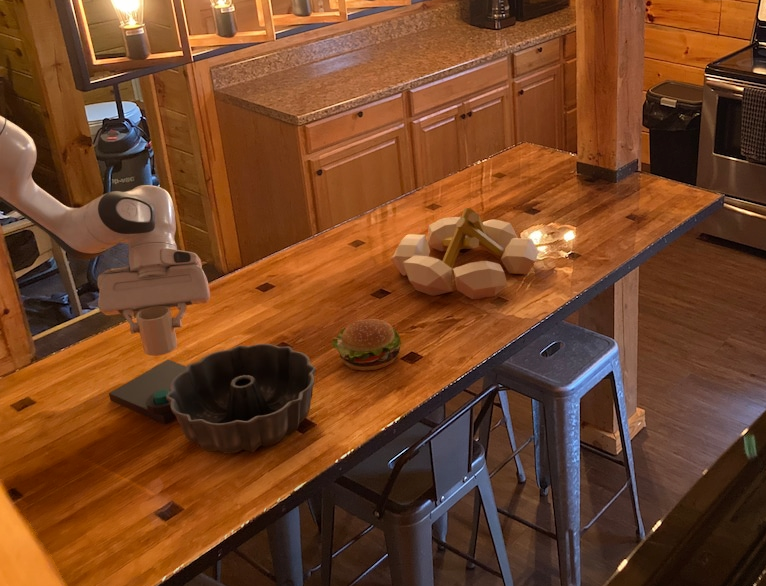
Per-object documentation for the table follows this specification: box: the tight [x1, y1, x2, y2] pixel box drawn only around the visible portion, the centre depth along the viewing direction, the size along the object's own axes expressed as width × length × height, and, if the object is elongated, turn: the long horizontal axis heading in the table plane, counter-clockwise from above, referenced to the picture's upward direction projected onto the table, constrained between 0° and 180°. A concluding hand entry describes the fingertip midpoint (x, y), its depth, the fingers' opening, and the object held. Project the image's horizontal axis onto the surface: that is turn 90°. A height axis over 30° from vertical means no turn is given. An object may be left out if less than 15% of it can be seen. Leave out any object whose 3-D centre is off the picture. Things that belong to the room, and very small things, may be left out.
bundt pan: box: [166, 343, 317, 455], centre depth 180 cm, size 26×26×10 cm
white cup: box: [135, 305, 178, 357], centre depth 188 cm, size 6×6×8 cm
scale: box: [108, 359, 187, 425], centre depth 190 cm, size 16×14×4 cm
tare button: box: [154, 390, 169, 404], centre depth 183 cm, size 3×3×2 cm
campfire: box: [390, 207, 539, 301], centre depth 238 cm, size 35×34×17 cm
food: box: [331, 318, 402, 372], centre depth 202 cm, size 14×14×8 cm
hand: (156, 329), depth 187 cm, fingers closed on white cup, 6 cm apart
